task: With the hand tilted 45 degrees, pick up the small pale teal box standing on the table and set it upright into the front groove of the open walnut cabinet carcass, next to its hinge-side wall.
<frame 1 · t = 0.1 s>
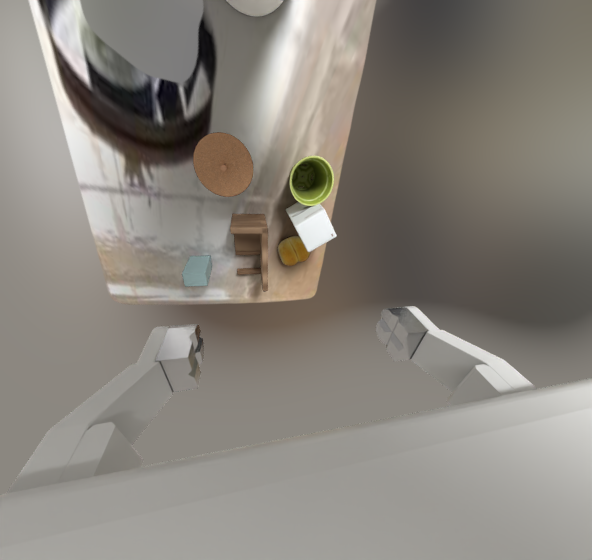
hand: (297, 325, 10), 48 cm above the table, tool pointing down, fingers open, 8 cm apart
pale teal box: (201, 261, 58), on the table
plant pot: (302, 176, 51), on the table
bread roll: (292, 249, 61), on the table
supplement box: (303, 213, 56), on the table
carcass: (246, 243, 57), on the table
lidded jar: (227, 162, 47), on the table
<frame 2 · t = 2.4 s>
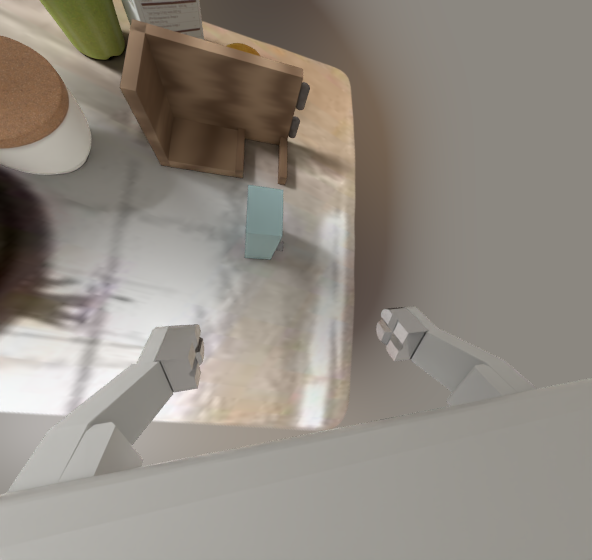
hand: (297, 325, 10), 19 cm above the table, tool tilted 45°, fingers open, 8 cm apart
pale teal box: (258, 241, 30), on the table
plant pot: (100, 43, 29), on the table, touching supplement box
supplement box: (173, 56, 31), on the table, touching plant pot
carcass: (226, 157, 31), on the table
lidded jar: (59, 152, 26), on the table
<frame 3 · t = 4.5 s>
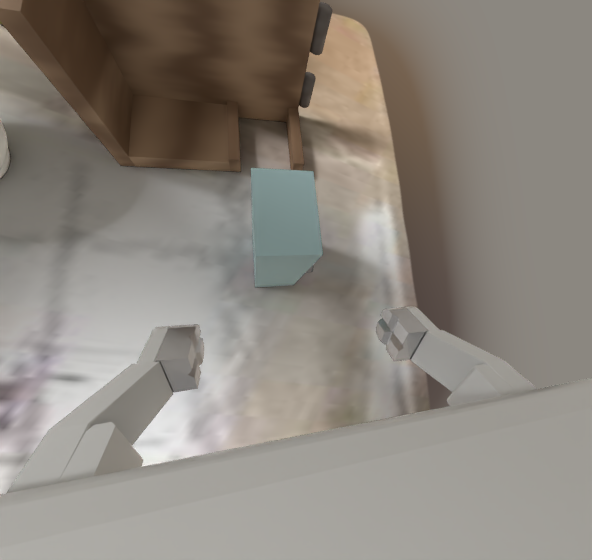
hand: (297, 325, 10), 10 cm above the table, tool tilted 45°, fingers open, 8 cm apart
pale teal box: (272, 259, 20), on the table
carcass: (214, 145, 21), on the table
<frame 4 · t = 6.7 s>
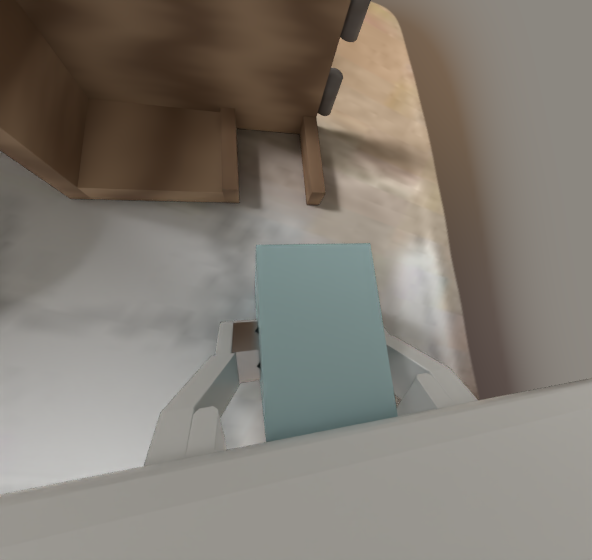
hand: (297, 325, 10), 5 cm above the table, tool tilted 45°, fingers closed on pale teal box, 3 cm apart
pale teal box: (283, 327, 15), on the table, touching gripper
carcass: (203, 167, 16), on the table
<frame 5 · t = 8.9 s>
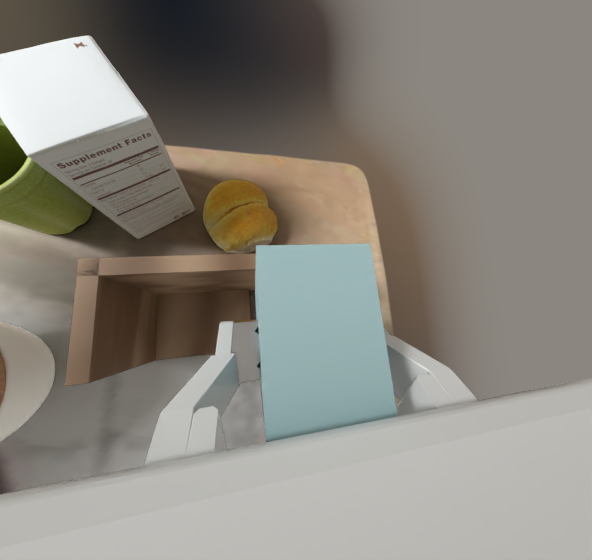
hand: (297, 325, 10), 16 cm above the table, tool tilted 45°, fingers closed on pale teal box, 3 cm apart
pale teal box: (283, 327, 14), point 11 cm above the table, touching gripper
plant pot: (63, 209, 24), on the table, touching supplement box
bread roll: (242, 223, 27), on the table
supplement box: (152, 202, 26), on the table, touching plant pot
carcass: (228, 324, 24), on the table
lidded jar: (18, 376, 20), on the table
when the fingers open (7 cm above the table, at t = 11.1 s): pale teal box drops 1 cm, on the table.
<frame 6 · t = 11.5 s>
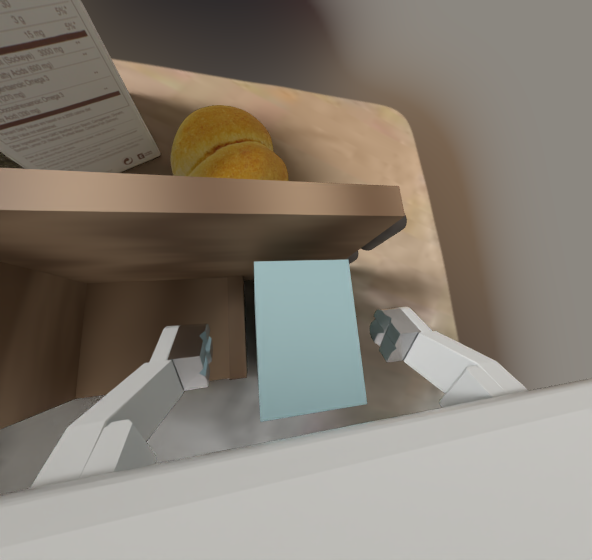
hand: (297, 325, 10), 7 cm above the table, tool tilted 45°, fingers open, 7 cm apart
pale teal box: (279, 328, 16), on the table
bread roll: (234, 180, 18), on the table
supplement box: (92, 141, 16), on the table, touching plant pot
carcass: (209, 334, 15), on the table
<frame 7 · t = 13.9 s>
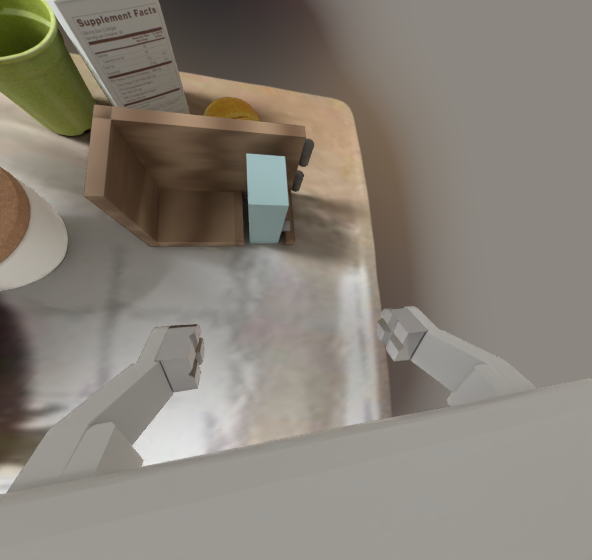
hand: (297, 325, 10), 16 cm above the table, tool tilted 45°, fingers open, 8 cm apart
pale teal box: (263, 225, 28), on the table
plant pot: (73, 116, 26), on the table, touching supplement box
bread roll: (237, 143, 30), on the table
supplement box: (154, 117, 28), on the table, touching plant pot
carcass: (223, 224, 27), on the table
lidded jar: (34, 250, 22), on the table
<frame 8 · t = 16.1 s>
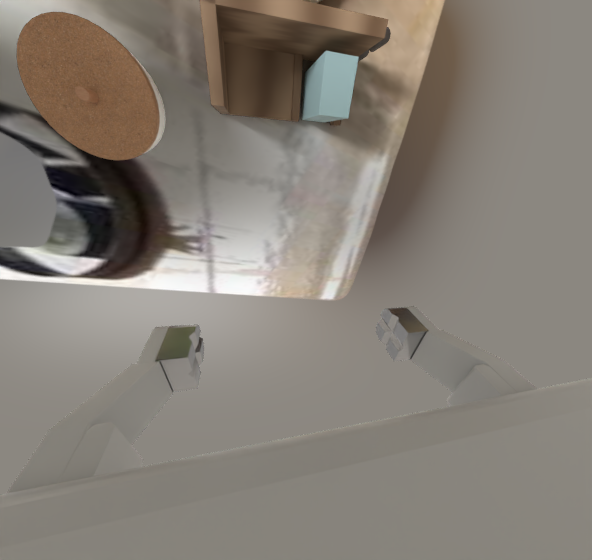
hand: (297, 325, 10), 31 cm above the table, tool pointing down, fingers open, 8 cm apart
pale teal box: (315, 99, 30), on the table
carcass: (280, 94, 29), on the table
lidded jar: (129, 106, 27), on the table
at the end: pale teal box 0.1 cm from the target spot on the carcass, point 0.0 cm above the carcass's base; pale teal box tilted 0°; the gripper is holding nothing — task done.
